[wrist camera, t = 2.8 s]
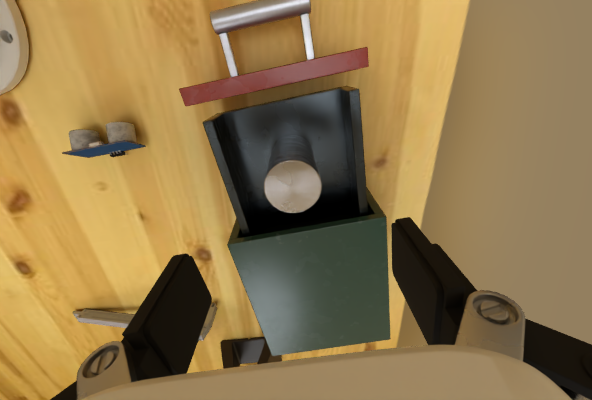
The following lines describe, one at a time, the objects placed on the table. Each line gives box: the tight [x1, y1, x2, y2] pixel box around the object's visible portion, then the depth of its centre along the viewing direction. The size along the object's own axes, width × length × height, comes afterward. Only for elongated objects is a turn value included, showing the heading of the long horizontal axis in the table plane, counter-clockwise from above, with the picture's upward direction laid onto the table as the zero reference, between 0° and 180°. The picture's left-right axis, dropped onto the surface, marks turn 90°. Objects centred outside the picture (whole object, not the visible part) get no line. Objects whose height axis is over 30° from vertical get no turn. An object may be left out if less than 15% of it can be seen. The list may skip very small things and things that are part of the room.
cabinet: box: [227, 187, 390, 356], centre depth 29 cm, size 18×15×7 cm
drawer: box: [179, 0, 369, 237], centre depth 22 cm, size 21×13×5 cm, turn 11°
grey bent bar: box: [73, 303, 217, 343], centre depth 33 cm, size 20×1×6 cm, turn 94°
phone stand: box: [221, 337, 282, 369], centre depth 36 cm, size 9×6×12 cm, turn 95°
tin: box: [264, 135, 322, 213], centre depth 21 cm, size 4×4×8 cm
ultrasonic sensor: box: [62, 122, 146, 158], centre depth 24 cm, size 6×2×3 cm, turn 101°
